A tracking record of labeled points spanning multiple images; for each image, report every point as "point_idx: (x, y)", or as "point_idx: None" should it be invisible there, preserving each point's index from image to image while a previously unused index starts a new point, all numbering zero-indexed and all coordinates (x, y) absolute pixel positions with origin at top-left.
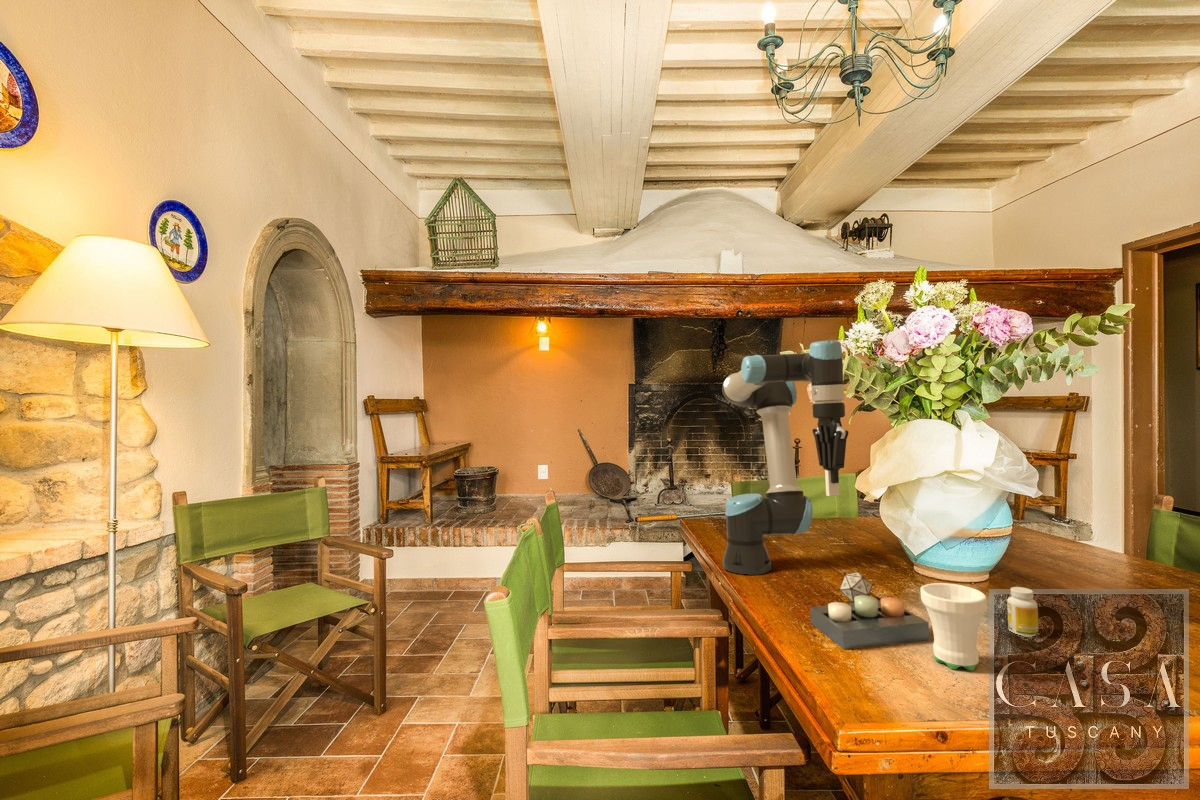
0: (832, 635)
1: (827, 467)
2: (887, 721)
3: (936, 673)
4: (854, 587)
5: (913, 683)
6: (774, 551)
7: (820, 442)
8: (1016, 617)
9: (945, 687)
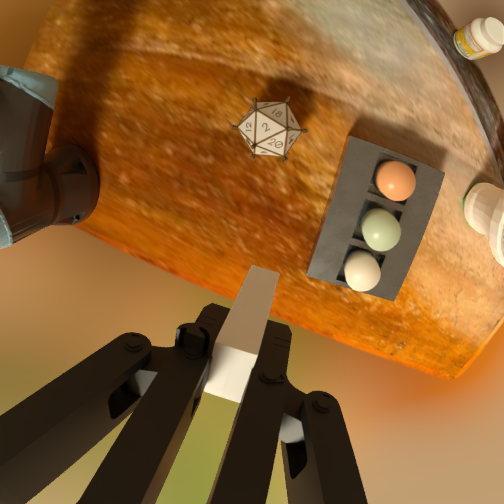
0: None
1: (202, 390)
2: (475, 351)
3: (478, 248)
4: (286, 149)
5: (471, 287)
6: None
7: (37, 480)
8: (482, 55)
9: (491, 267)
